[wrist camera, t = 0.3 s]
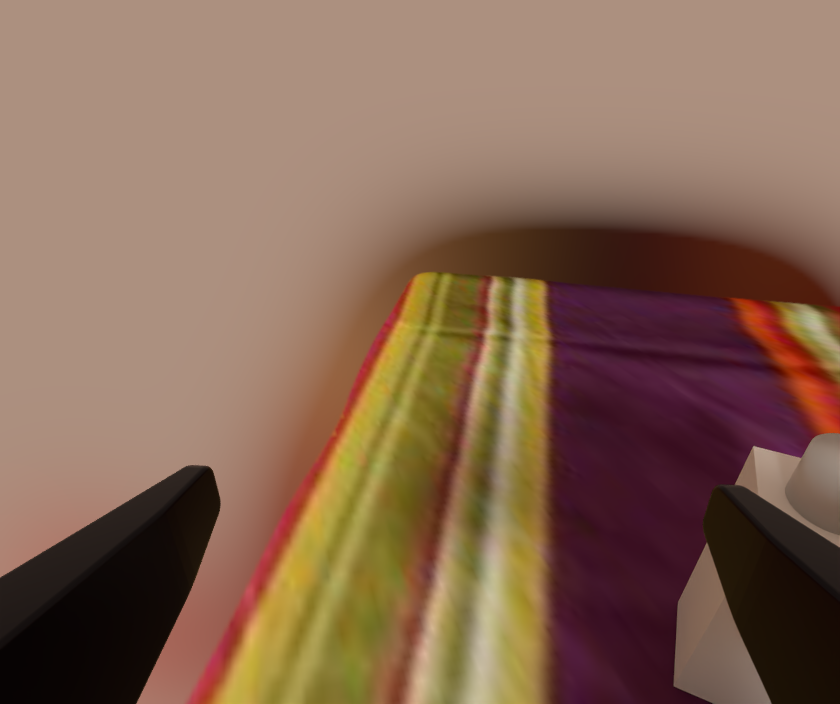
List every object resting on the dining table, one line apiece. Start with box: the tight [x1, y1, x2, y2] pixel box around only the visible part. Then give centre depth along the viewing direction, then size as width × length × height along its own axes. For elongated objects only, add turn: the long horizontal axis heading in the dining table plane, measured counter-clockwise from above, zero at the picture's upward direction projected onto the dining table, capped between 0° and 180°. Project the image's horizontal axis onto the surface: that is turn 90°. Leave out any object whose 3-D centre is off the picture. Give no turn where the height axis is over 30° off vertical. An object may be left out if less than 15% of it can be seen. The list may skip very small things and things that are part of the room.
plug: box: [674, 433, 840, 704], centre depth 18 cm, size 4×4×12 cm
